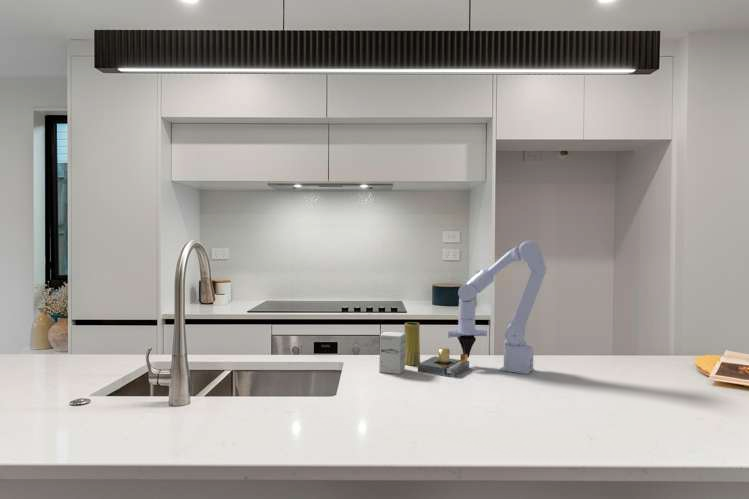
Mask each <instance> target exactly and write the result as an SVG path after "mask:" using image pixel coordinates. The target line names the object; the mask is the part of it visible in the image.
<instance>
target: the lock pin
mask: <svg viewBox="0 0 749 499" xmlns="http://www.w3.org/2000/svg"><path fill="white" fill-rule="evenodd" d="M460 360H461V361H459V362H458V363H456V364H454V365H452V366H450V367H448V368H447V373H450V374H451V369H452V368H454V367H456V366H458V365H460V364H461V363H463V362H465V361H468V358H467V354H463V353H461V354H460Z"/></svg>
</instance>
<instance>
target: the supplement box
mask: <svg viewBox="0 0 749 499" xmlns="http://www.w3.org/2000/svg"><path fill="white" fill-rule="evenodd" d="M405 337H406V333H405V332H402V331H401V332H400V331H384V332H382V333H381V334H380V335H379V360H378V361H379V363H378V364H379V368H378V372H379V373H386V374H396V375H401V374H402V373H403V371H405V368H406V365H405Z"/></svg>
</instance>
